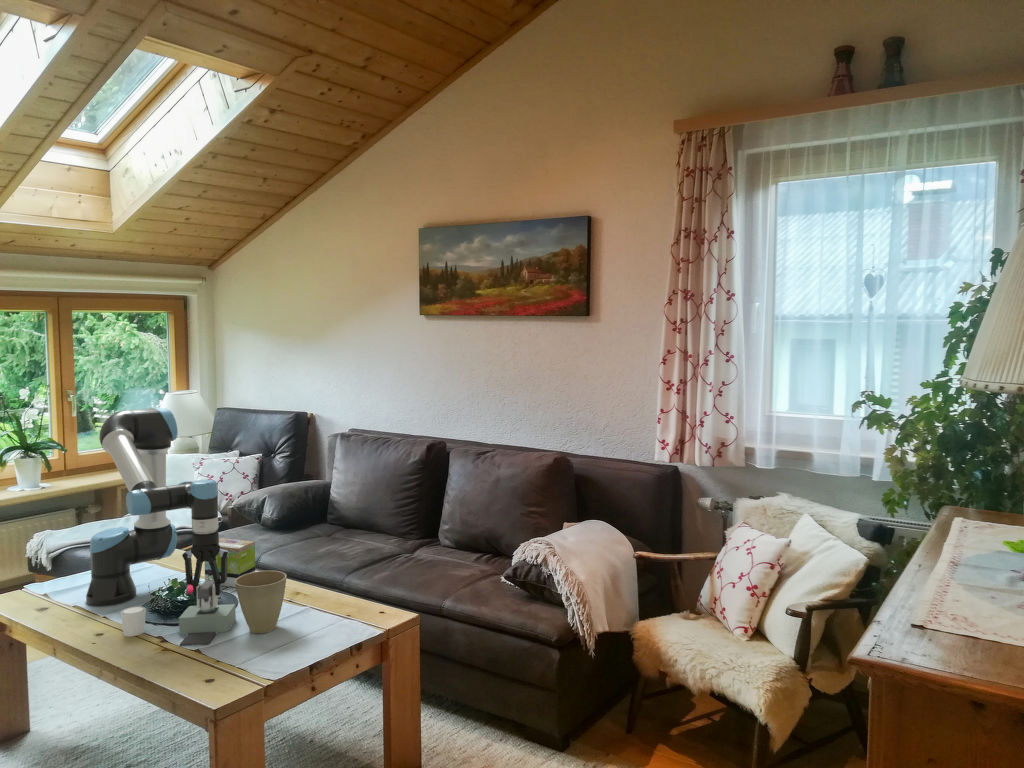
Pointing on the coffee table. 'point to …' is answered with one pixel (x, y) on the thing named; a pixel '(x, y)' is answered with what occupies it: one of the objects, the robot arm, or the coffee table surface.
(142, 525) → the robot arm
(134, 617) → the white cylinder
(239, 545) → the tea box
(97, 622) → the coffee table surface
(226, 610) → the block
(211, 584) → the chuck key
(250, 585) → the plant pot
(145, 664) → the coffee table surface
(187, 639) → the rubber mat
